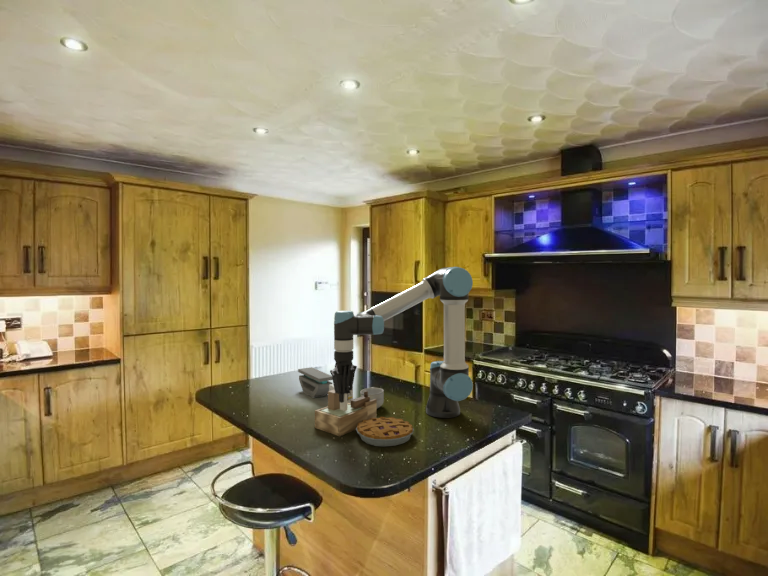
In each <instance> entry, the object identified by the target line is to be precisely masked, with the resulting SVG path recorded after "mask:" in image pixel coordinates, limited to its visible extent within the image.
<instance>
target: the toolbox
mask: <svg viewBox="0 0 768 576" xmlns="http://www.w3.org/2000/svg"><path fill="white" fill-rule="evenodd" d="M347 404H348V405H351V403H347ZM326 408H328V405H327V406H324V407H322V408H318V409H315V410H314V429H316V430H320V431H323V432H326V433H328V434H331V435H334V436H338V437H342V436H344V435H347V434H349V433H351V432H354V431H356V428H357V426H358V423H362V421H363V420H370V418H377V413H378V412H377V409H378V408H377V399H373V400H370V401H368V402H365V403H364V406H362V407H360V408H362V409H360V410H357V411H355V412H352V413H349V414H347V415H344V416H341V417H338V416H335V415H332V414H328V413H325V412H322V411H321V410H324V409H326Z"/></svg>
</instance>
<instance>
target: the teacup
mask: <svg viewBox="0 0 768 576" xmlns="http://www.w3.org/2000/svg"><path fill="white" fill-rule="evenodd" d="M364 391H368V396H370V400H373V399H377V409H379V408H381V406H383V405H384V401H385V400H384V392H385V390H384V389H383V388H380V387H375V386H372V387H366V388H364V389H361V390H360V391H359V393H360V397H362V396H364Z"/></svg>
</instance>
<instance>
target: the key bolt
mask: <svg viewBox="0 0 768 576" xmlns="http://www.w3.org/2000/svg"><path fill="white" fill-rule="evenodd" d="M368 401H370V396H368V391H364V396H362V397H361V396H360V397H357V398H356V397H355V398H353V400H351V408H354V409H356V408H359V407H362V406H364V403H365V402H368Z"/></svg>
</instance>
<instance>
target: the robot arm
mask: <svg viewBox="0 0 768 576" xmlns="http://www.w3.org/2000/svg"><path fill="white" fill-rule="evenodd" d="M473 281H474V280H473V278H472V275H471V273H470V272H469V271H468V270H466V269H465V268H462V267H460V266H447V267H442V268H439V269H438V270H436V271H434V272H433V273H431V274H429V275H427V276H426V277H424V278H422V279H421V281H420V282H419V283H417V284H416V285H413V286H412V287H410V288H408V289H406V290H404V291H402V292H400V293H397V294H395V295H394V296H392V297H391V298H388V299H386V300H385V301H383V302H380V303H379V304H376V305H375V306H372V307H370V308H369V309H367V310H364V311H361V312H359V313H357V314H354V311H353V310H337V311H335V312H334V317H333V319H334V320H333V333H334V334H333V337H334V341H333V343H334V344H333V345H334V346H333V347H334V348H333V350H334V351H333V360H334V362H335V364H334V368H333V369H330V371H329V374H330V375H331V376H332V379H333V380H332V384H334V390H335V393H338V394H339V402H340V410H343V411H346V410H347V401H348V393H350V390H352V387H353V388H354V386H353V385H354V380H355V374H356V373H355V372H356V370H357V367H358V366H357V365H354V364H353V360H354V336H358V335H359V336H360V335H363V336H366V335H367V336H368V335H370V336H371V335H374V336H376V335H382V334H383V333H384V332H385V331H384V330H385V321H388V320H389V319H391V318H393V317H395V316H397V315H399V314H401V313H403V312H404V311H406V310H409V309H410V308H412V307H414V306H416V305H418V304H420V303H422V302H424V301H426V300H427V299H434V298H437V297H439V301H440V302H441V303H442V305H443V360H435V361H432V362H431V363H430V364H429V365H430V366H429V367H430V368H429V396H428V400H427V402H426V405H425V413H426V415H428V416H431V417H434V418H439V419H450V418H456V417H458V416H460V415H461V408H460V403H459V402H460V401H463V400H466V399H467V398H468V397H469V396H471V394H472V391H473V386H474V384H473V381H472V379H471V377H470V375H469V374H470V373H469V372H470V371H469V370H470V369H469V364H468V363H466V358H465V357H466V356H465V355H466V353H465V351H466V339H465V337H466V329H465V327H466V326H465V325H466V324H465V323H466V321H465V320H466V319H465V316H466V315H465V314H466V310H465V305H466V303H467V302H468V301H469V295H470V294H469V293H470V291H471V290H472V288H473V285H474V284H473V283H474V282H473ZM349 386H350V387H349Z"/></svg>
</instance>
